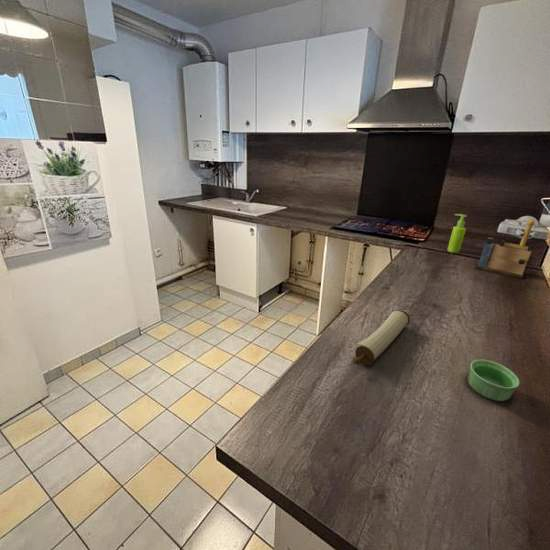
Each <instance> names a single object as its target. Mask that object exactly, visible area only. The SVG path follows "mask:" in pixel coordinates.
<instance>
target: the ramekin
mask: <svg viewBox="0 0 550 550" xmlns="http://www.w3.org/2000/svg"><path fill="white" fill-rule="evenodd" d="M467 381H468V384H469V386H470V387H471V388H472V389H473V390H474V391H475V392H476V393H477V394H479V395H481V396H482V397H485V398H486V399H489V400H493V401H496V402H504V401H508V400H510V398H511V397H512V395H513V394H514V392H515V391H516V389H517V388H519V386H520V383H521V382H520V379H519V377H518V376H517V374H515V373H514V371H512V370H511V369H510V368H507V367H506V366H504V365H502V364H501V363H498V362H495V361H492V360H488V359H475V360H472V361H471V363H470V365H469V373H468V377H467Z"/></svg>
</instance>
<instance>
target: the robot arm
mask: <svg viewBox="0 0 550 550" xmlns="http://www.w3.org/2000/svg"><path fill="white" fill-rule="evenodd" d="M544 206H546V207H547V208H548V210H550V202H548V203H546V204H545V205H544ZM544 206H543V209H542V212H541V216H540V218H539V220H538V219H536V217H534V216H531V215H524V216H521V217H519V218H517V219H516V218H515V219H511V218H506V219H504V221H501V222H500V223H499V225H498V227H497V230H496V232H497V233H500V234H504V235H509V236H513V237H515V238H519V239H521V240H522V237H523V235H524V232H525V229H526V227H527V221H529V220H533V221H534V222H535V224H534V225H533V226H532V228H531V231H530V234H529V236H528V239H527V240H529V239H531V240H533V241H535V242H539V243H540V242H541V243H547V242H546V241H545V240H547V238H548V234H549V231H547V230H545V229H546V228H547V227H550V214H549V213H548V211H547V210H546V208H545V207H544Z"/></svg>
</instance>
